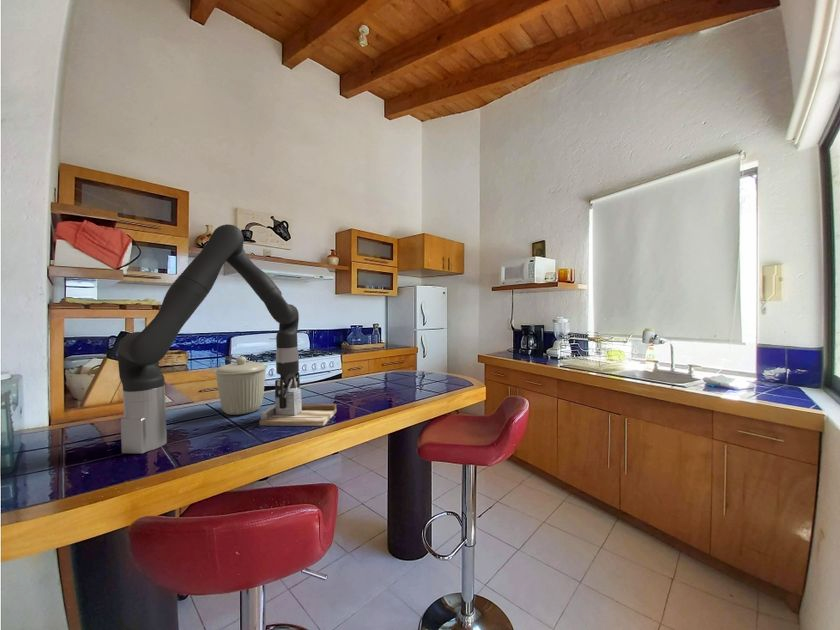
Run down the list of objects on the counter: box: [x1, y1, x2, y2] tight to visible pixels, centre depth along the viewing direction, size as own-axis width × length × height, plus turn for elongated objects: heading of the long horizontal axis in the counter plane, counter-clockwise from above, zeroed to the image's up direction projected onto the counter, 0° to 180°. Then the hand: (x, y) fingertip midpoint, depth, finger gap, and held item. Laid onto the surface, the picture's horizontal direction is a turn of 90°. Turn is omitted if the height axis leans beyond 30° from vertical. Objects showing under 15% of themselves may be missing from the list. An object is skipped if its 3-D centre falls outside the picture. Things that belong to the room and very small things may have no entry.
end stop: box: [260, 403, 276, 420], centre depth 116 cm, size 10×2×2 cm, turn 177°
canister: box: [213, 356, 268, 416], centre depth 125 cm, size 18×18×21 cm
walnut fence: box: [301, 403, 337, 410], centre depth 122 cm, size 2×22×2 cm, turn 87°
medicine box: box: [274, 388, 302, 416], centre depth 117 cm, size 8×4×9 cm, turn 76°
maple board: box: [258, 408, 337, 427], centre depth 116 cm, size 14×22×2 cm, turn 87°
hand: (288, 404), depth 117 cm, fingers open, 8 cm apart
